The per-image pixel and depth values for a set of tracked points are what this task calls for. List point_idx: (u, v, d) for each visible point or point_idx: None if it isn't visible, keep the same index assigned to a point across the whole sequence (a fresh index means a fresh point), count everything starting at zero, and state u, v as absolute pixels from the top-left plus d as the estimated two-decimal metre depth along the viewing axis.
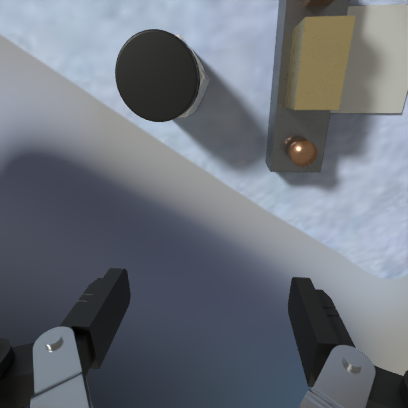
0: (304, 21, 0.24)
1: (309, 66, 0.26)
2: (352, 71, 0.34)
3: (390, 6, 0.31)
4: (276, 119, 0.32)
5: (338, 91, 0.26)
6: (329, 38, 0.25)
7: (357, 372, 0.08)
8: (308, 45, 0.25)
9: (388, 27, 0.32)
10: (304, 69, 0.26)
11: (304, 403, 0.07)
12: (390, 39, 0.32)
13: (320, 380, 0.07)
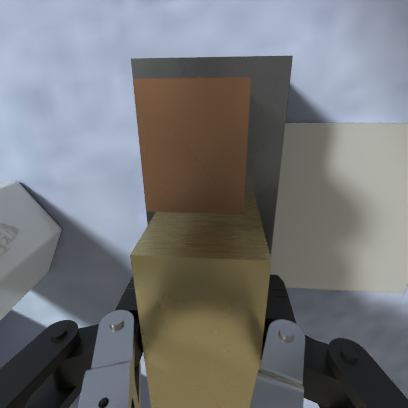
0: None
1: (166, 346, 0.10)
2: (312, 229, 0.18)
3: (382, 127, 0.15)
4: None
5: (248, 393, 0.10)
6: (207, 301, 0.09)
7: (288, 341, 0.09)
8: (155, 310, 0.09)
9: (377, 163, 0.16)
10: (156, 351, 0.10)
11: (256, 384, 0.07)
12: (382, 182, 0.16)
13: (264, 358, 0.08)
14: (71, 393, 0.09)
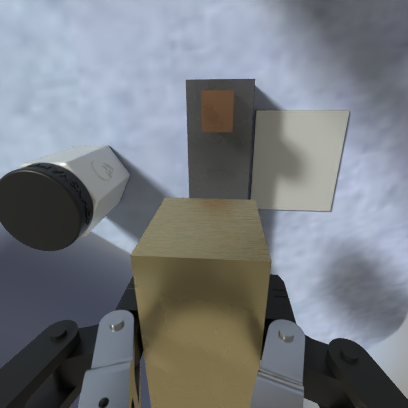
0: None
1: (166, 346, 0.10)
2: (275, 171, 0.32)
3: (307, 112, 0.29)
4: None
5: (247, 393, 0.11)
6: (207, 302, 0.09)
7: (288, 341, 0.09)
8: (155, 311, 0.09)
9: (307, 132, 0.30)
10: (156, 351, 0.10)
11: (256, 384, 0.07)
12: (310, 142, 0.30)
13: (264, 358, 0.08)
14: (71, 393, 0.09)
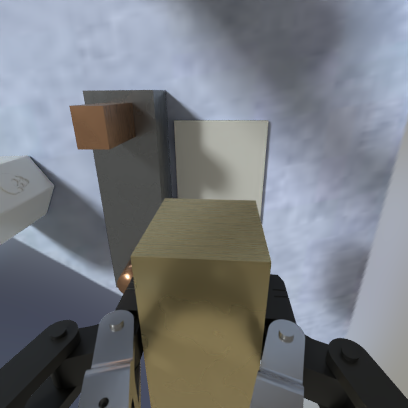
0: None
1: (166, 347, 0.10)
2: (199, 182, 0.31)
3: (226, 122, 0.28)
4: (109, 240, 0.30)
5: (247, 393, 0.11)
6: (207, 302, 0.09)
7: (288, 341, 0.09)
8: (155, 312, 0.09)
9: (228, 142, 0.29)
10: (156, 351, 0.10)
11: (256, 384, 0.07)
12: (232, 153, 0.29)
13: (264, 358, 0.08)
14: (71, 393, 0.09)
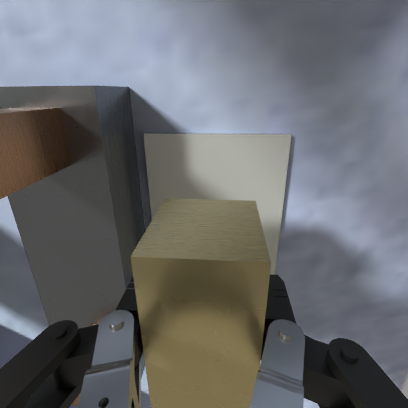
0: None
1: (166, 348, 0.10)
2: None
3: (224, 137, 0.18)
4: (48, 315, 0.19)
5: (248, 394, 0.11)
6: (207, 303, 0.09)
7: (288, 341, 0.09)
8: (155, 312, 0.09)
9: (227, 167, 0.19)
10: (156, 352, 0.10)
11: (257, 384, 0.07)
12: (234, 184, 0.19)
13: (264, 358, 0.08)
14: (71, 393, 0.09)
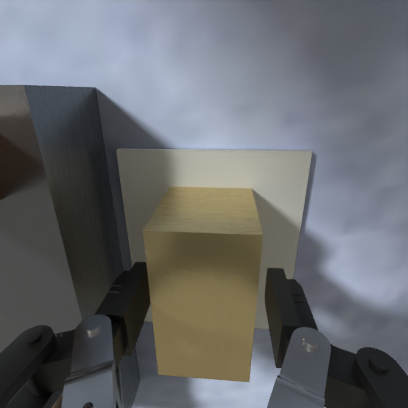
0: None
1: (172, 313, 0.11)
2: None
3: (222, 154, 0.13)
4: None
5: (243, 356, 0.12)
6: (208, 272, 0.10)
7: (314, 350, 0.08)
8: (163, 281, 0.11)
9: None
10: (163, 318, 0.11)
11: (275, 390, 0.07)
12: None
13: (285, 364, 0.08)
14: (49, 398, 0.09)
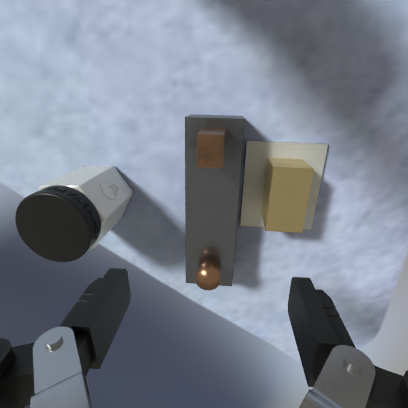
0: (272, 168, 0.30)
1: (277, 200, 0.31)
2: (262, 193, 0.36)
3: (291, 144, 0.33)
4: (186, 241, 0.34)
5: (301, 220, 0.31)
6: (293, 182, 0.30)
7: (357, 372, 0.08)
8: (276, 186, 0.30)
9: None
10: (273, 202, 0.31)
11: (304, 403, 0.07)
12: None
13: (320, 380, 0.07)
14: None
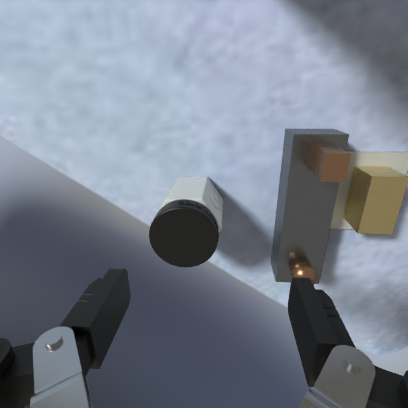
0: (370, 178, 0.33)
1: (372, 206, 0.34)
2: (346, 198, 0.39)
3: (378, 153, 0.36)
4: (281, 244, 0.38)
5: (392, 222, 0.35)
6: (389, 190, 0.33)
7: (357, 372, 0.08)
8: (372, 193, 0.33)
9: None
10: (368, 208, 0.34)
11: (304, 403, 0.07)
12: None
13: (320, 380, 0.07)
14: None
